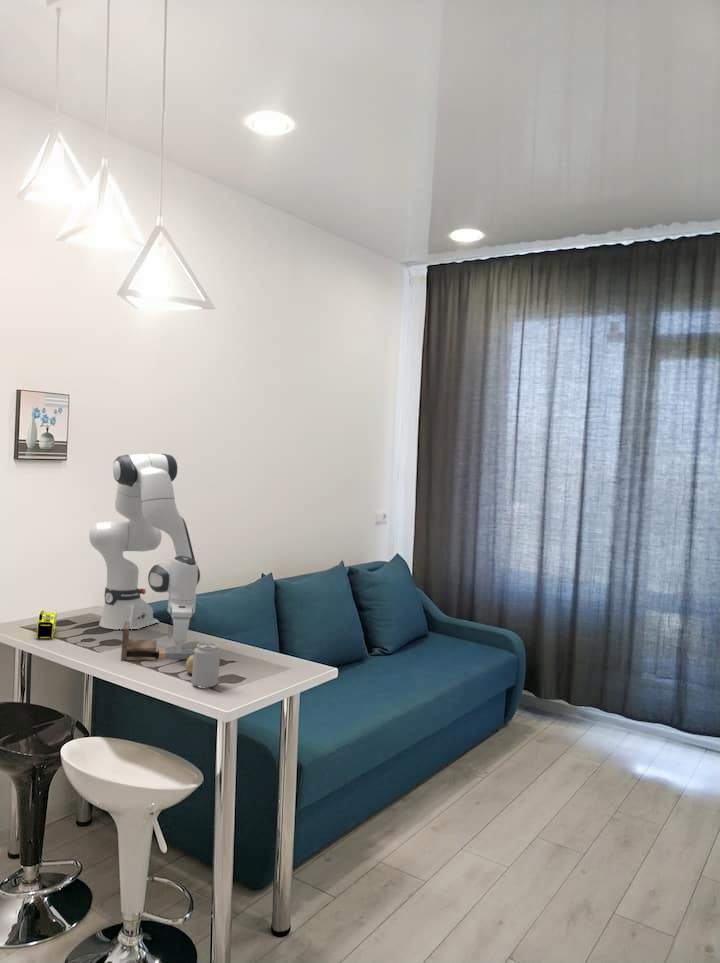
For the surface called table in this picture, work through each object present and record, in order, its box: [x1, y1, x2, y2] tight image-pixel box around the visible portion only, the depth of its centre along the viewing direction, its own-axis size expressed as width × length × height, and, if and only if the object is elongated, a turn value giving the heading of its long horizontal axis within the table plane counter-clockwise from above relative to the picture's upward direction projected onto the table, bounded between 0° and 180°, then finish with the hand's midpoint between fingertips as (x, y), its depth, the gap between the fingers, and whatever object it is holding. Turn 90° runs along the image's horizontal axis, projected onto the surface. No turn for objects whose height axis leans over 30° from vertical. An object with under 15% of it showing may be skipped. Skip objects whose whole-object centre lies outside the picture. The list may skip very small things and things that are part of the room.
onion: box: [185, 651, 194, 675], centre depth 229 cm, size 8×8×7 cm
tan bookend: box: [120, 621, 158, 661], centre depth 242 cm, size 10×10×10 cm
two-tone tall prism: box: [158, 647, 196, 660], centre depth 245 cm, size 12×6×2 cm, turn 104°
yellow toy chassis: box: [36, 607, 57, 640], centre depth 259 cm, size 16×6×8 cm, turn 19°
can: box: [191, 642, 221, 687], centre depth 218 cm, size 8×8×12 cm
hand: (178, 648), depth 245 cm, fingers open, 8 cm apart
